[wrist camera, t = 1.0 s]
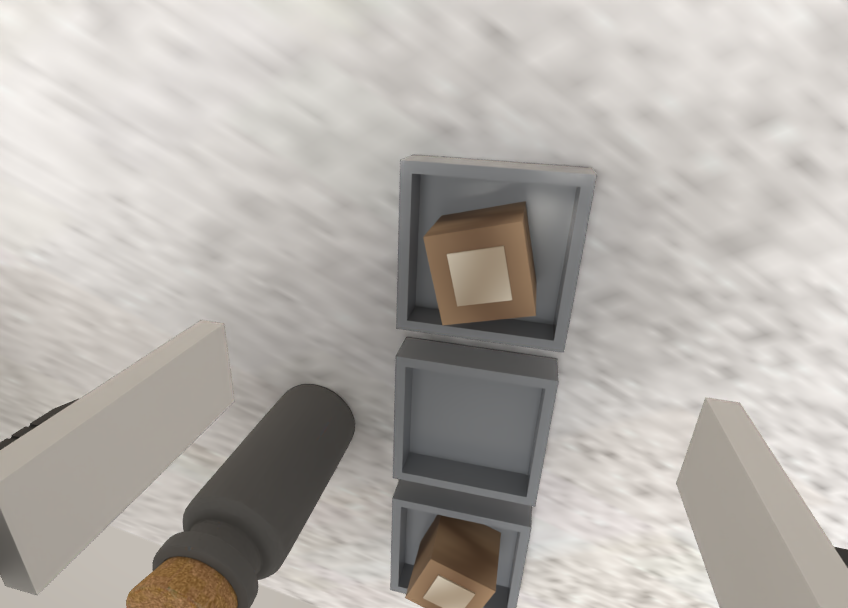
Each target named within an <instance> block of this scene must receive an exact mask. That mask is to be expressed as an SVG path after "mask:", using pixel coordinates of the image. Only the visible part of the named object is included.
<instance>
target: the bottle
mask: <svg viewBox="0 0 848 608" xmlns="http://www.w3.org/2000/svg"><path fill="white" fill-rule="evenodd" d="M354 428H355V426H354V418H353V415H352V413H351V411H350V409H349V408H348V406H347V404H346V403H345V402H344V401H343V400H342V399H341V398H340V397H339V396H338V395H336V394H335V393H334V392H332V391H330V390H328V389H326V388H323V387H320V386H317V385H300V386H296V387H294V388H292V389H290V390H289V391H287V392H286V393H285V394H284V395H283V396H282V397H281V398H280V400H279V401H278V402H277V403H276V404H275V405H274V406H273V407H272V409H271V410H270V411H269V412H268V413H267V414H266V415H265V416H264V417H263V419H262V420H261V421H260V422H259V423H258V424H257V426H256V427H255V428H254V429H253V430H252V431H251V432H250V434H249V435H248V436H247V437H246V438H245V439H244V441H243V442H242V443H241V444H240V445H239V446H238V448H237V449H236V450H235V451H234V452H233V453H232V454H231V456H230V457H229V458H228V459H227V460H226V461H225V463H224V464H223V465H222V466H221V467H220V468H219V469H218V471H217V472H216V473H215V474H214V475H213V476H212V478H211V479H210V480H209V481H208V482H207V483H206V485H205V486H204V487H203V488H202V489H201V490H200V492H199V493H198V494H197V495H196V496H195V497H194V499H193V500H192V501H191V502H190V504H189V505H188V507H187V508H186V510H185V513H184V516H183V530H184V532H181V533H178V534H175V535H173V536H172V537H170V538H169V539H168V540H167V541H166V542H165V543H164V545H163V546H162V547H161V548H160V549H159V551H158V552H157V553H156V555H155V557H154V560H153V572H152V573H151V574H149V575H148V576H147V577H146V578H145V579H143V580H142V581H141V582H140V583H139V584H138V585H136V586H135V587H134V588H133V589H132V590H131V591H130V592H129V594H128V597H127V600H126V606H127V608H250V606H251V605H252V603H253V601H254V599H255V597H256V595H257V592H258V580H260V579H264V578H266V577H269V576H271V575H272V574H274V573H275V572H276V571H278V569H279V568H280V567H281V565H282V564H283V562H284V560H285V559H286V557H287V555H288V554H289V552H290V550H291V549H292V547H293V545H294V543H295V541H296V540H297V538H298V536H299V534H300V532H301V531H302V529H303V527H304V525H305V523H306V522H307V520H308V518H309V516H310V514H311V513H312V511H313V509H314V507H315V505H316V504H317V502H318V500H319V498H320V496H321V495H322V493H323V491H324V489H325V487H326V486H327V484H328V482H329V480H330V478H331V477H332V475H333V473H334V471H335V469H336V468H337V466H338V464H339V462H340V460H341V458H342V457H343V455H344V453H345V451H346V449H347V447H348V445H349V443H350V441H351V439H352V437H353V434H354Z"/></svg>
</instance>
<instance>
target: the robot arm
mask: <svg viewBox="0 0 848 608" xmlns="http://www.w3.org/2000/svg"><path fill="white" fill-rule="evenodd" d="M234 401H235V399H234V391H233V384H232V377H231V370H230V363H229V355H228V348H227V341H226V334H225V326H224V323H217V322H211V321H204V320H200V321H199V322H197V323H196V324H194V325H193V326H191V327H190V328H188V329H186V330H185V331H183V332H182V333H180V334H179V335H177V336H176V337H174V338H173V339H171V340H169V341H168V342H166V343H165V344H163V345H162V346H160V347H159V348H157V349H156V350H154V351H153V352H151V353H149V354H148V355H146V356H145V357H143V358H142V359H140V360H139V361H137V362H136V363H134V364H132V365H131V366H129V367H128V368H126V369H125V370H123V371H122V372H120V373H119V374H117V375H116V376H114V377H112V378H111V379H109V380H108V381H106V382H105V383H103V384H102V385H100V386H99V387H97V388H95V389H94V390H92V391H91V392H89V393H88V394H86V395H85V396H83V397H82V398H80V399H77V400H74V401H72V402H70V403H67V404H65V405H62V406H60V407H57V408H55V409H53V410H51V411H49V412H48V413H46V414H45V415H43V416H41V417H40V418H38V419H37V420H35V421H34V422H32V423H30V426H29V427H24V428H23V429H21V430H19V431H18V432H16V433H15V434H13V435H12V437H11V438H10V439H5V440H4V441H2V442H0V575H1V578H2V580H3V582H4V584H5V586H7V587H11V588H14V589H17V590H20V591H24V592H28V593H31V594H34V595H38V594H39V593H40V592H41V591H42V590H43V589H44V588H45V587H47V586H48V585H49V583H51V581H53V580H54V579H55V578H56V577H57V575H59V574H60V573H61V572H62V571H63V569H65V568H66V567H67V566H68V565H69V564H70V563H71V562H72V561H73V560H74V559H75V558H76V557H77V556H78V555H79V554H80V553H81V552H82V551H83V550H84V549H85V548H86V547H87V546H88V545H89V544H90V543H91V542H92V541H93V540H94V539H95V538H96V537H97V536H98V535H99V534H100V533H101V532H102V531H103V530H104V529H105V528H106V527H107V526H108V525H109V524H111V523H112V522H113V521H114V520H115V519H116V518H117V517H118V516H119V515H120V514H121V513H122V512H123V511H124V510H125V509H126V508H127V507H128V506H129V505H130V504H131V503H132V502H133V501H134V500H135V499H136V498H137V497H138V496H139V495H140V494H141V493H142V492H143V491H144V490H145V489H146V488H147V487H148V486H149V485H150V484H151V483H152V482H153V481H154V480H155V479H156V478H157V477H158V476H159V475H160V474H161V473H162V472H163V471H164V470H165V469H166V468H167V467H168V466H169V465H170V464H171V463H172V462H173V461H175V460H176V459H177V458H178V457H179V456H180V455H181V454H182V453H183V452H184V451H185V450H186V449H187V448H188V447H189V446H190V445H191V444H192V443H193V442H194V441H195V440H196V439H197V438H198V437H199V436H200V435H201V434H202V433H203V432H204V431H205V430H206V429H207V428H208V427H209V426H210V425H211V424H212V423H213V422H214V421H215V420H216V419H217V418H218V417H219V416H220V415H221V414H222V413H223V412H224V411H225V410H226V409H227V408H228V407H229V406H230V405H231V404H232V403H233V402H234ZM676 484H677V487H678V490H679V493H680V496H681V498H682V501H683V504H684V507H685V510H686V513H687V516H688V518H689V521H690V524H691V527H692V530H693V533H694V536H695V539H696V541H697V544H698V547H699V550H700V553H701V556H702V559H703V561H704V564H705V567H706V570H707V573H708V576H709V579H710V581H711V584H712V587H713V590H714V593H715V596H716V599H717V601H718V604H719V607H720V608H848V550H847V549H842V548H837V547H834V546H833V545H832V543H831V542H830V540H829V539H828V537H827V536H826V534H825V533H824V531H823V530H822V528H821V527H820V525H819V523H818V522H817V520H816V519H815V517H814V516H813V514H812V513H811V511H810V510H809V508H808V507H807V505H806V504H805V502H804V500H803V499H802V497H801V496H800V494H799V493H798V491H797V490H796V488H795V487H794V485H793V484H792V482H791V481H790V479H789V477H788V476H787V474H786V473H785V471H784V470H783V468H782V467H781V465H780V464H779V462H778V461H777V459H776V457H775V456H774V454H773V453H772V451H771V450H770V448H769V447H768V445H767V444H766V442H765V441H764V439H763V438H762V436H761V434H760V433H759V431H758V430H757V428H756V427H755V425H754V424H753V422H752V421H751V419H750V418H749V416H748V415H747V413H746V411H745V410H744V408H743V407H742V405H741V404H740V403H738V402H732V401H725V400H719V399H712V398H706V397H705V400H704V403H703V406H702V409H701V412H700V415H699V418H698V421H697V424H696V427H695V430H694V433H693V435H692V438H691V441H690V444H689V447H688V450H687V453H686V456H685V459H684V462H683V465H682V468H681V471H680V474H679V477H678V480H677V482H676Z"/></svg>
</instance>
